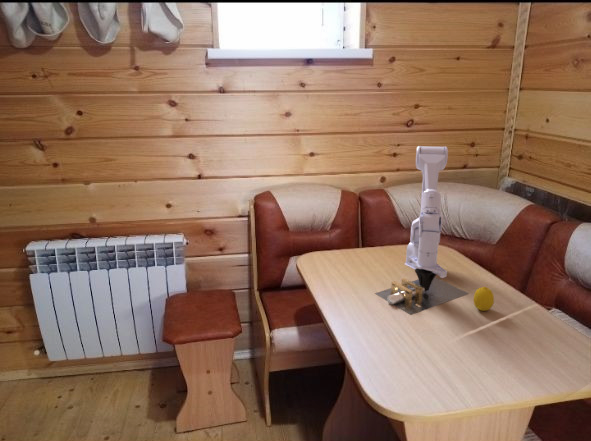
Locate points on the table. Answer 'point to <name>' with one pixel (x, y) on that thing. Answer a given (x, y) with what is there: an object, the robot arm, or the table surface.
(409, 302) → the plate
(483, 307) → the lemon
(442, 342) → the table surface
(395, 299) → the tube
